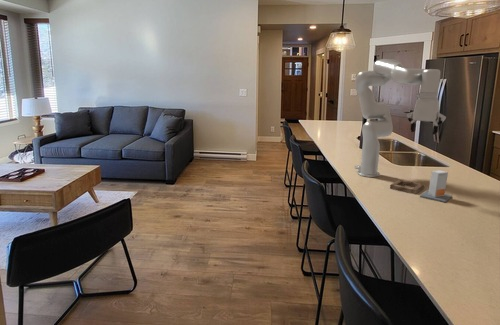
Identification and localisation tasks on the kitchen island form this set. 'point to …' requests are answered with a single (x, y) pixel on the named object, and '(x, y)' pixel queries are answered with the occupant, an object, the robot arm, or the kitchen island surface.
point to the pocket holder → (406, 189)
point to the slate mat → (440, 198)
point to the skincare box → (438, 183)
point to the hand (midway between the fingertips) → (423, 132)
